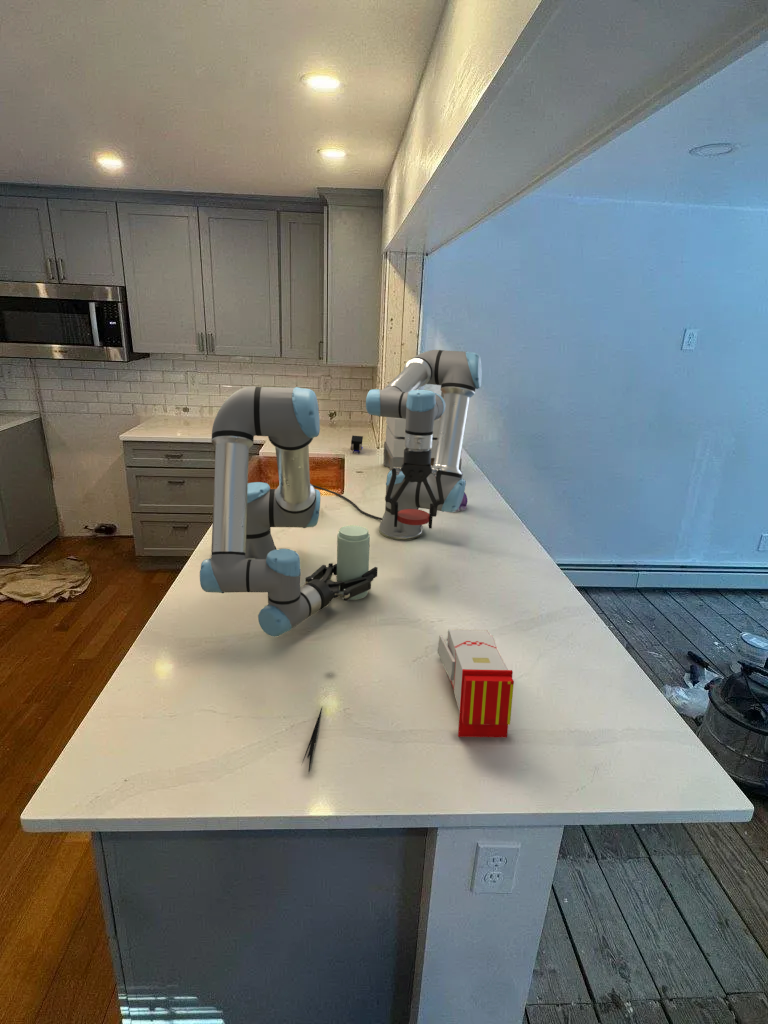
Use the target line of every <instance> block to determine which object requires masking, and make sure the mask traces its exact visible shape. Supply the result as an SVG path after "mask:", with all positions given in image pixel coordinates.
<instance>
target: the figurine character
mask: <svg viewBox="0 0 768 1024" xmlns="http://www.w3.org/2000/svg"><path fill="white" fill-rule="evenodd" d="M363 439H364V436H363V435H351V441H350V451H352V454H355V453H357V454H360V451H362V450H363V449H364V447H363Z"/></svg>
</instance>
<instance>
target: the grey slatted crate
mask: <svg viewBox="0 0 768 1024" xmlns="http://www.w3.org/2000/svg"><path fill="white" fill-rule="evenodd" d="M440 393H441V394H440V395H441V396H442V397H443V399H444V394H443V393H442V391H440ZM440 419H441V417H440V418H438V419H437V420H434V425H433V438H432V448H431V449H430V450H431V451H432V453H431V467H432V466H433V465H434V458H435V452H436V445H437V439H438V432H439V426H440ZM385 423H386V428H385V438H384V442H383V466H384V467H388V468H389V472H390V471H391V470H392V467H393V466H395V467H401V466H402V465H403V459H404V449H405V448H406V447H405V446H404V441H405V427H406V419H403V418H392V417H385ZM462 453H463V448H462V449H461V454H462ZM462 461H463V460H462V455H461V456H460V462H459V470H460V471H461V472H462Z"/></svg>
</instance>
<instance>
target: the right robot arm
mask: <svg viewBox="0 0 768 1024" xmlns="http://www.w3.org/2000/svg"><path fill="white" fill-rule="evenodd" d="M482 379H483V368H482V359H481V355H480V354H479V353H477V352H471V351H467V350H466V351H463V350H462V351H461V350H446V349H444V350H443V349H431V350H427V351H424V352H421V353H419V354H417V355H414V356H413V357H412V358H410V359H408V361H407V362H406V363H405V364H404V366H403V369H402V371H401V372H400V373H398V375H396V376H395V378H393V379H392V380H391V381H390V382H389V383H388V384H387V385H386V386H385V387H384V388H383V389H379V388H377V389H375V388H373V389H372V388H371V389H370V390H369V391H368V392H367V395H366V398H365V410H366V412H367V414H368V415H370V416H375V417H379V418H380V417H383V418H386V417H392V418H403V419H406V427H405V441H404V446H405V447H406V448H405V449H404V459H403V465H402V466H401V467H395V466H393V467H392V470H391V471H390V470H389V472H388V473H387V475H386V482H385V496H384V501H385V504H384V505H385V507H384V508H385V509H384V513H383V515H382V517H380V516H376V515H373V514H370V513H368V512H365V511H363V510H362V509H361V508H359V506H358V505H356V503H354V502H353V501H352V500H351V499H349V498H347V497H346V496H345V495H342V494H340V493H338V492H336V491H332V490H330V489H327V488H325V487H322V486H318V485H315V484H312V486H313V487H314V489H317V490H322V491H325V492H328V493H330V494H333V495H336V496H338V497H340V498H342V499H344V500H345V501H347V502H348V503H350V504H351V505H352V506H353V507H355V508H356V510H357V511H358V512H360V513H361V514H363V515H365V516H367V517H370V518H373V519H375V520H379V521H381V522H379V526H378V533H379V534H380V535H381V536H382V537H385V538H387V539H389V540H395V541H410V540H415V539H418V538H420V537H421V536H422V535H423V529H424V527H423V525H408V524H404V523H401V522H399V521H398V520H397V516H398V512H399V511H401V510H405V509H417V510H419V509H424V510H429V511H428V513H429V515H430V520H429V522H428V523H427V524H428V525H427V526H428V529H430V530H431V529H433V520H434V519H433V518H435V517H437V515H438V512H441V513H444V512H446V513H455V511H456V510H457V509H458V508H459V506H460V504H461V501H462V499H463V495H464V492H465V490H466V485H467V482H466V479H464V478H463V475H462V473H461V472H462V470H461V471H460V470H459V462H460V456H461V457H462V453H461V449H462V450H463V442H464V437H465V436H464V435H465V429H466V422H467V416H468V409H469V403H470V399H471V398H472V397H473V396H475V394H476V390H479V389H480V388H481V387H482ZM426 385H433V386H435V385H436V386H440V392H442V393H443V394H444V399H443V397H442V396H441V394H439V393H437V392H434V391H432V390H427V389H419V388H421V387H425V386H426ZM440 417H441V419H440V426H439V432H438V439H437V445H436V452H435V458H434V465H433V466H432V465H431V453H432V451H431V450H430V449H431V448H432V438H433V425H434V420H437V419H438V418H440ZM465 493H466V492H465Z"/></svg>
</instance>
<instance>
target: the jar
mask: <svg viewBox="0 0 768 1024" xmlns="http://www.w3.org/2000/svg"><path fill="white" fill-rule="evenodd" d="M336 539H337V540H336V564H337V575H336V581H341V580H342V581H343V582H344V581H348V580H352V579H357V578H361V577H362V575H363V574H365V573H366V572H368V571H369V570H370V569H369V567H370V547H371V546H370V543H371V535H370V533H369V530H368V528H366V527H364V526H363V525H362V526H361V525H356V524H355V525H354V524H353V525H351V524H350V525H345V526H342V527H340V529H339V531H338V533H337V538H336ZM368 593H369V590H368V591H365V592H363V593H361V594H358V595H356V596H354V597H351V598H350V599H349V600H350V601H356V600H362V599H363V598H366V596H367V595H368ZM340 598H341V599H343V597H340ZM349 600H348V601H349Z"/></svg>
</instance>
